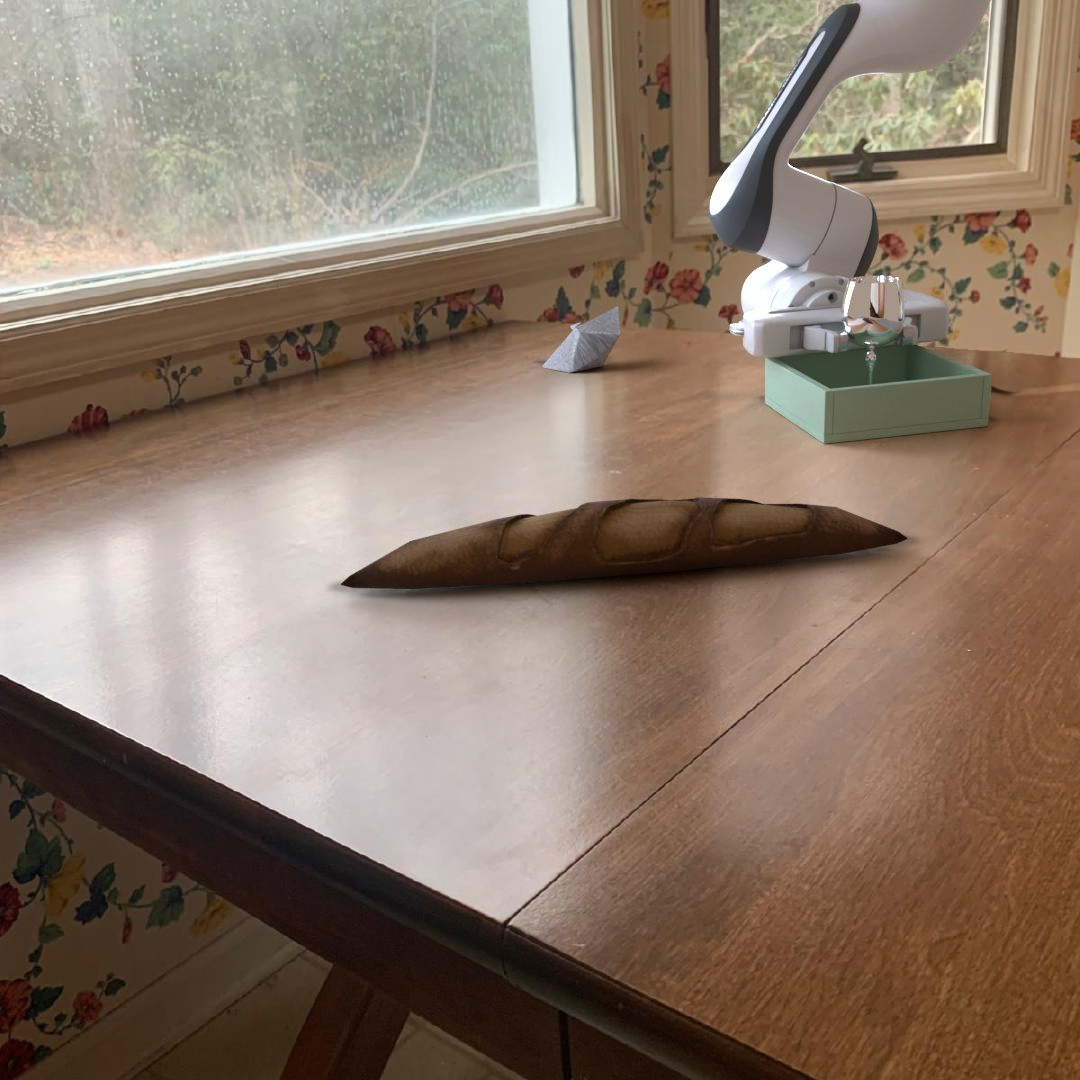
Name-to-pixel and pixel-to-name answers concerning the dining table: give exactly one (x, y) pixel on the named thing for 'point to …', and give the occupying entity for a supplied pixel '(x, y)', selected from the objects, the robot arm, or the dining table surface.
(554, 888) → the dining table surface
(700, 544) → the bread
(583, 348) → the paper boat
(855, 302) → the wineglass
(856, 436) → the bin
